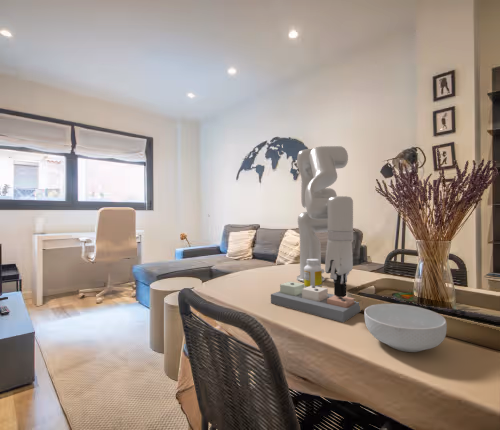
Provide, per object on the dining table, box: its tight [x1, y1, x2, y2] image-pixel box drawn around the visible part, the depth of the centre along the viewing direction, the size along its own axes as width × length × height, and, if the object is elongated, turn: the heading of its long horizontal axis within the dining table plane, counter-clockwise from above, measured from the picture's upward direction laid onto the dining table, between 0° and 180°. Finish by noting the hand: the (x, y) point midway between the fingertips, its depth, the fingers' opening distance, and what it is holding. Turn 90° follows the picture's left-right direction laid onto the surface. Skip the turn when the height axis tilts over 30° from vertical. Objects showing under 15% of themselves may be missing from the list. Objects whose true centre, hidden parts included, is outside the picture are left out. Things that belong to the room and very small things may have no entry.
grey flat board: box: [270, 290, 361, 323], centre depth 92 cm, size 14×26×3 cm, turn 47°
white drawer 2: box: [302, 286, 329, 302], centre depth 92 cm, size 6×6×4 cm
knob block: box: [279, 281, 304, 296], centre depth 98 cm, size 6×6×4 cm
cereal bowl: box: [364, 303, 448, 353], centre depth 65 cm, size 17×17×7 cm
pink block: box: [327, 294, 355, 308], centre depth 86 cm, size 6×6×4 cm
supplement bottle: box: [303, 259, 323, 288], centre depth 109 cm, size 7×7×13 cm
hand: (340, 295), depth 86 cm, fingers closed
